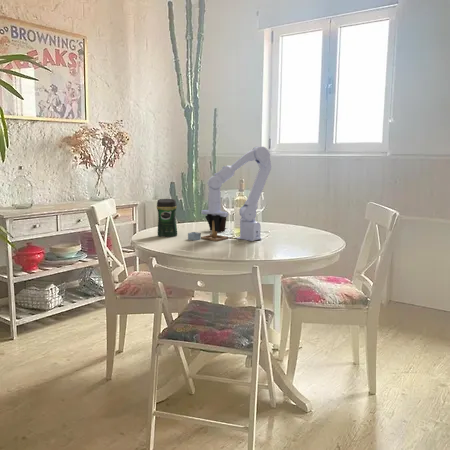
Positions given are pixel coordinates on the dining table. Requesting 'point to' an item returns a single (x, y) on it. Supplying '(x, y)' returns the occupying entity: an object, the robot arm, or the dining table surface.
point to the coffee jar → (167, 218)
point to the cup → (194, 236)
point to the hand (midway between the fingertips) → (214, 230)
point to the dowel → (214, 230)
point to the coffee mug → (222, 224)
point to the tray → (219, 238)
